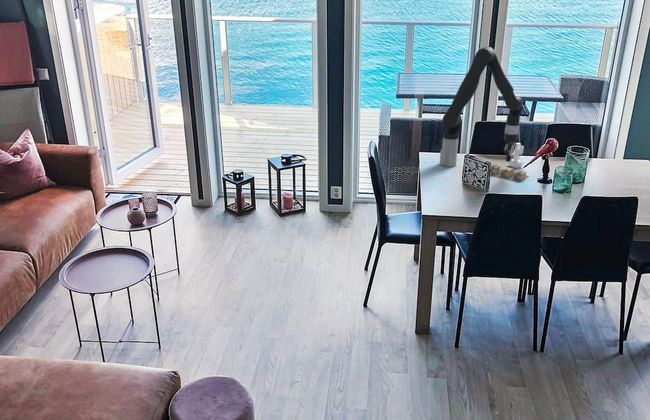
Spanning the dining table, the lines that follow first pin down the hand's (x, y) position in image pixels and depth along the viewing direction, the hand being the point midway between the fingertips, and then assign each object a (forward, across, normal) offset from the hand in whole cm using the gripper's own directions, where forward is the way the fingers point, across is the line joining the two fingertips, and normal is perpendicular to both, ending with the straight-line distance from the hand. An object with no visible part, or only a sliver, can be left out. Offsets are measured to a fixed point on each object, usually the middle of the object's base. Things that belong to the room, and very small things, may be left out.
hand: (508, 161), depth 355 cm
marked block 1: (+8, 0, -8) cm, 12 cm away
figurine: (+9, -19, -3) cm, 21 cm away
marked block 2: (+9, 0, +8) cm, 12 cm away
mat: (+9, 0, 0) cm, 9 cm away
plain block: (+9, 0, 0) cm, 9 cm away
